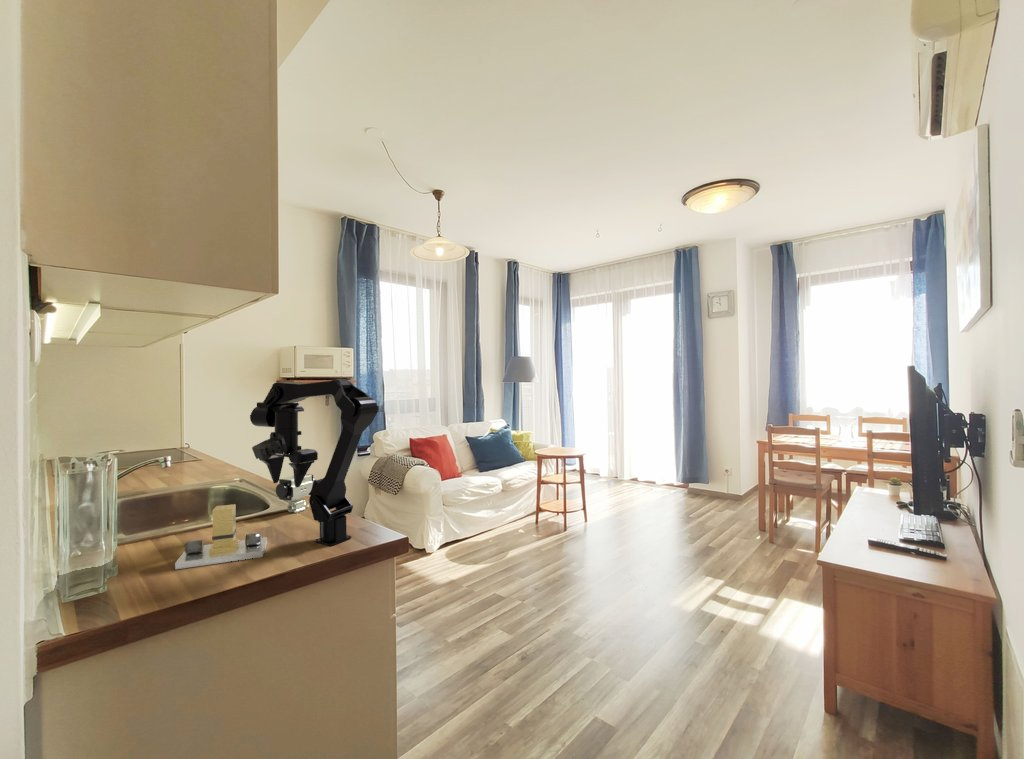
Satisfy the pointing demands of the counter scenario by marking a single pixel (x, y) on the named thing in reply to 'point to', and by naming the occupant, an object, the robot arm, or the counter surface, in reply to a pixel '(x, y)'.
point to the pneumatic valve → (294, 492)
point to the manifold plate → (200, 555)
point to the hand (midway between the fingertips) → (286, 485)
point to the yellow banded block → (224, 529)
